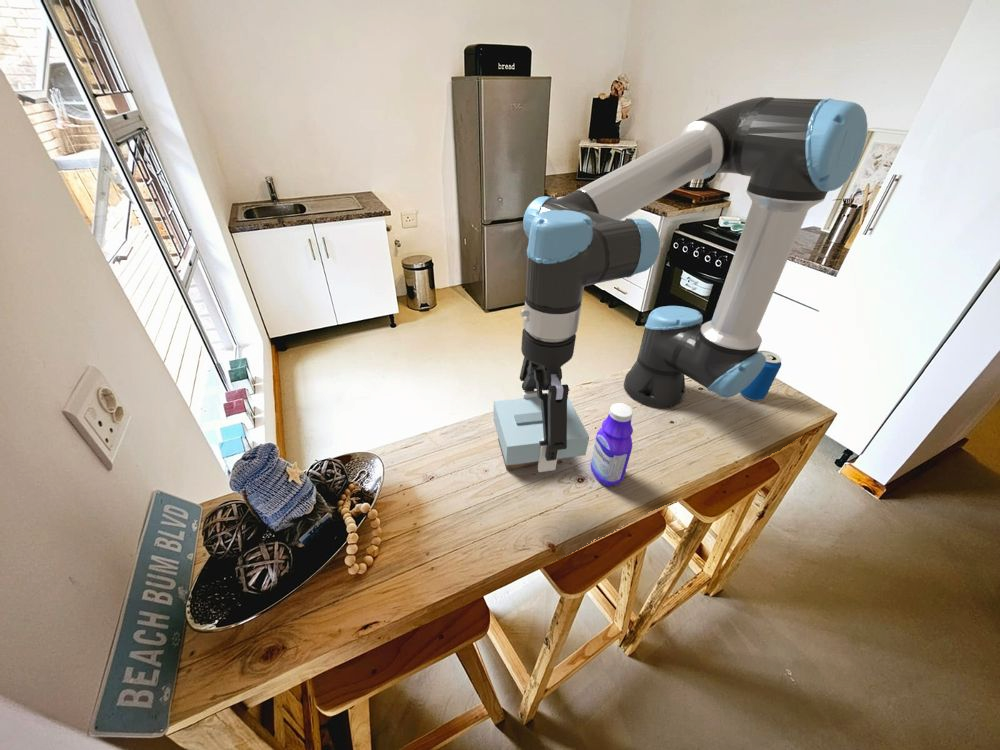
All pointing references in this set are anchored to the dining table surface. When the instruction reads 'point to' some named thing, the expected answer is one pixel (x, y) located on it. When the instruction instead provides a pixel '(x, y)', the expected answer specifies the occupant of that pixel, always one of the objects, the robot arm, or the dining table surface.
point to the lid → (533, 430)
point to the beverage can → (763, 378)
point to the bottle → (613, 446)
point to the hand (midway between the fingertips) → (536, 443)
